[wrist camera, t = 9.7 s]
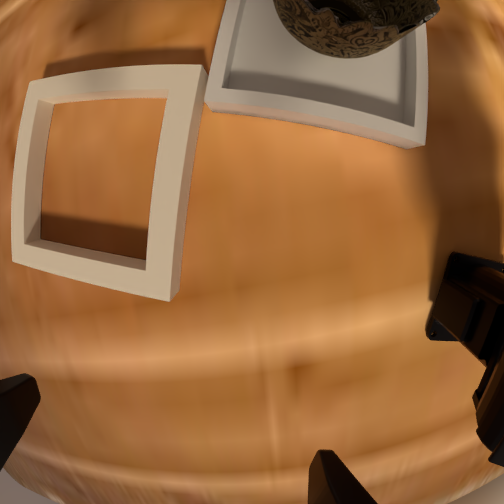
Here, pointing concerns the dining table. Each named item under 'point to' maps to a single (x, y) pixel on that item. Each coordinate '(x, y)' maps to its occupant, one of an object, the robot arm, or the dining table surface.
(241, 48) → the grey tray
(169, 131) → the white flat square frame
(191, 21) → the dining table surface
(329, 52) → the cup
